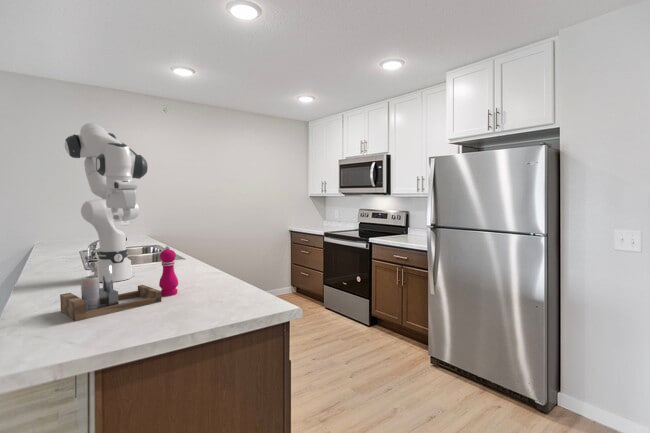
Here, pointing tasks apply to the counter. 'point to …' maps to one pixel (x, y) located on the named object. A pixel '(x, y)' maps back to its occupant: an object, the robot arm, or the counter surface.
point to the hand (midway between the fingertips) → (120, 220)
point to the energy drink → (90, 292)
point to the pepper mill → (168, 273)
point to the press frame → (77, 309)
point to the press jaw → (108, 288)
